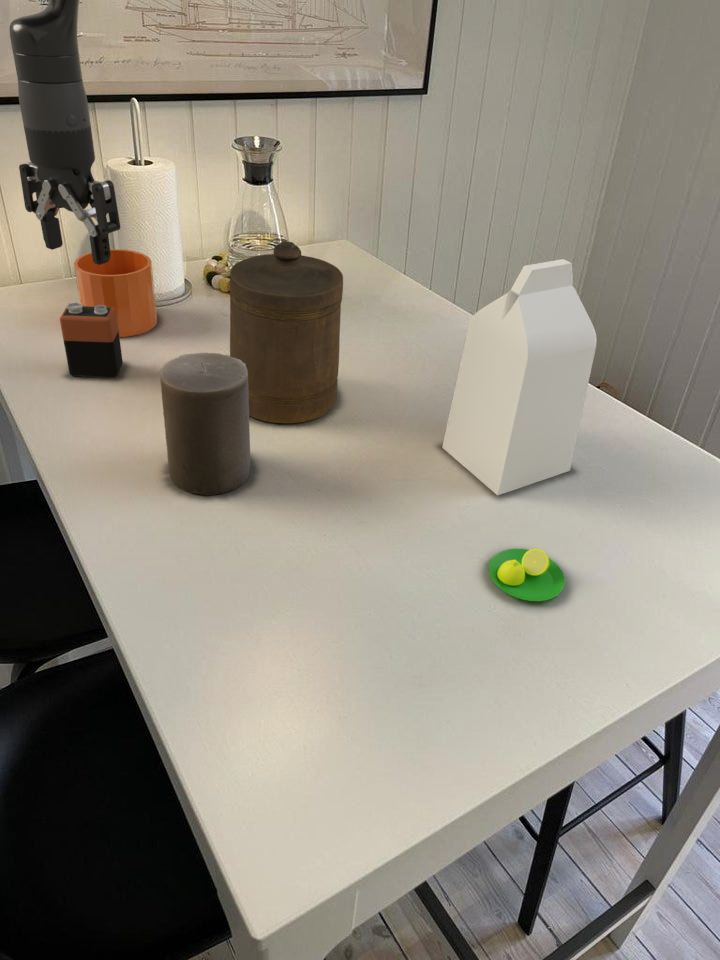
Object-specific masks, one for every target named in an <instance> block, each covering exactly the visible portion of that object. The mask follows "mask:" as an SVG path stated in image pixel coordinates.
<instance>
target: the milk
mask: <svg viewBox="0 0 720 960" xmlns="http://www.w3.org/2000/svg"><path fill="white" fill-rule="evenodd" d="M573 278H574V277H573V263H572V262H570V261H569V260H566V259H565V258H561V259H555V260H551V261H544V262H539V263H538V262H537V263H532V264H527V265H523V267H522V269H521V271H520V272H519V274H518V276H517V277H516V279H515V282H514V283H513V285H512V287H511V289H510V290H509V291H507V292H506V293H505V294H503V295H501V296H500V297H497V299H495V300H493V301H492V302H490V303H487V305H485V306H483V307H482V308H480V309H479V310H477V311H476V312H475V313H474V314H473V315H472V316H471V318H470V321H469V323H468V326H467V330H466V331H467V332H466V336H465V341H464V345H463V350H462V354H461V359H460V365H459V368H458V372H457V377H456V383H455V386H454V392H453V395H452V396H453V397H452V401H451V405H450V411H449V413H448V414H449V415H448V419H447V423H446V428H445V433H444V437H443V442H442V447H441V449H443V450H444V451H445V452H447V453H448V454H449V455H450V456H451V457H452V458H453V459H455V460H456V461H457V462H458V463H459V464H460V465H462V466H463V467H464V468H465V469H466V470H468V472H470V474H471V475H473V476H474V477H475V478H477V480H479V481H480V483H482V484H484V485H485V486H486V487H487V488H488V489H489V490H491V492H492V493H494V494H495V495H496V496H500V495H503V494H507V493H510V492H512V491H515V490H518V489H521V488H524V487H527V486H530V485H533V484H536V483H539V482H542V481H544V480H547V479H550V478H553V477H556V476H559V475H562V474H564V473H567V472H571V467H572V463H573V458H574V454H575V449H576V444H577V439H578V434H579V430H580V425H581V420H582V415H583V411H584V406H585V401H586V396H587V392H588V387H589V382H590V379H591V373H592V367H593V363H594V359H595V353H596V349H597V342H598V339H597V333H596V330H595V327H594V325H593V322H592V320H591V318H590V316H589V314H588V312H587V309H586V308H585V306H584V304H583V302H582V300H581V298H580V296H579V294H578V292H577V290H576V287H574V286H573V285H574V279H573Z"/></svg>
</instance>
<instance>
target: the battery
mask: <svg viewBox="0 0 720 960" xmlns="http://www.w3.org/2000/svg"><path fill="white" fill-rule="evenodd" d="M59 324H60V328H61V334H62V338H63V345H64V351H65V358H66V361H67V362H66V363H67V368H68V372H69V375H70V376H71V377H92V378H93V377H95V378H97V377H99V378H116V377H118V376H119V374H120V371H121V370H122V366H123V364H124V361H123V360H124V359H123V353H122V346H121V339H120V338H121V337H119V330H118V322H117V315H116V309H115V308H113V307H106V306H104V305H97V306H83V304H81V303H80V302H77V301H76V302H69V303H68V304H67V305H66V307H65V308H64V310H63V312H62V314H61V315H60V317H59Z"/></svg>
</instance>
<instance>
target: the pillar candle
mask: <svg viewBox="0 0 720 960" xmlns="http://www.w3.org/2000/svg"><path fill="white" fill-rule="evenodd" d="M159 380H160V388H161V389H160V390H161V400H162V401H161V402H162V409H163V410H162V411H163V413H162V414H163V421H164V422H163V423H164V432H165V443H166V444H165V445H166V454H167V455H166V457H167V465H168V473H169V477H170V479H171V481H172V483H173V484H174V485H175V486H176V487H177V488H178V489H180V490H182V491H185V492H187V493H191V494H196V495H200V496H216V495H220V494H224V493H225V494H226V493H228V492H231V491H233V490H236V489H237V488H240V487H241V486H242V485H244V484H245V483H246V482H247V481H248V479H249V477H250V475H251V468H252V467H251V443H250V442H251V440H250V439H251V436H250V416H249V396H248V371H247V368H246V364H245V363H243V362H242V361H241V360H239V359H236V358H233V357H230V355H228V354H222V353H216V352H195V353H183V354H181V355H178V357H175V358H172V359H170V360H169V361H167V362H166V363H164V364H163V366H162V367H161V369H160V370H159Z"/></svg>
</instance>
